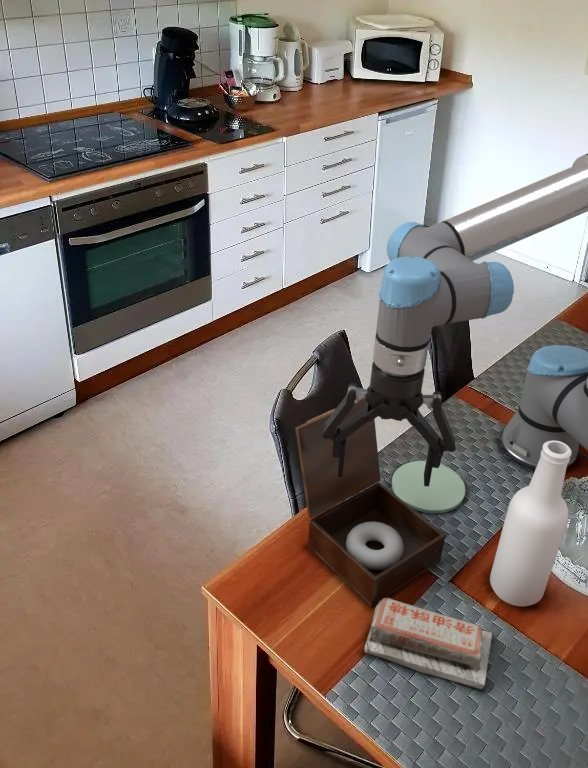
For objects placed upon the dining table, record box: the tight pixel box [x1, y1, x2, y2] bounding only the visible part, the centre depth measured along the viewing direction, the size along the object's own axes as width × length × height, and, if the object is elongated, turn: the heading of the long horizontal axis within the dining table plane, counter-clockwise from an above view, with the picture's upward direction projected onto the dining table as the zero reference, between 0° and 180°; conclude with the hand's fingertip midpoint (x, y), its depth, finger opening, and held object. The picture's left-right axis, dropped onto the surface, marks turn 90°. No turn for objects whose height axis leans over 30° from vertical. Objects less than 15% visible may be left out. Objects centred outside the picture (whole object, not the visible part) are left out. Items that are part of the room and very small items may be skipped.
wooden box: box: [307, 481, 447, 609], centre depth 126 cm, size 16×16×7 cm
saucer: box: [391, 460, 466, 514], centre depth 142 cm, size 14×14×1 cm
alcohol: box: [489, 441, 572, 608], centre depth 114 cm, size 9×9×30 cm
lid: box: [294, 398, 382, 520], centre depth 127 cm, size 17×16×5 cm
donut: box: [346, 522, 404, 570], centre depth 126 cm, size 10×4×10 cm
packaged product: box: [363, 597, 493, 690], centre depth 111 cm, size 18×5×10 cm
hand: (383, 476), depth 117 cm, fingers open, 13 cm apart
